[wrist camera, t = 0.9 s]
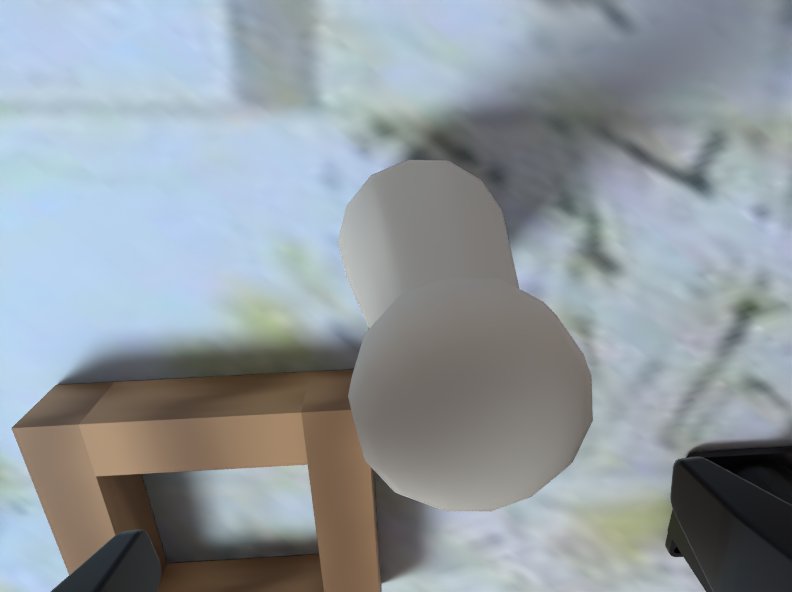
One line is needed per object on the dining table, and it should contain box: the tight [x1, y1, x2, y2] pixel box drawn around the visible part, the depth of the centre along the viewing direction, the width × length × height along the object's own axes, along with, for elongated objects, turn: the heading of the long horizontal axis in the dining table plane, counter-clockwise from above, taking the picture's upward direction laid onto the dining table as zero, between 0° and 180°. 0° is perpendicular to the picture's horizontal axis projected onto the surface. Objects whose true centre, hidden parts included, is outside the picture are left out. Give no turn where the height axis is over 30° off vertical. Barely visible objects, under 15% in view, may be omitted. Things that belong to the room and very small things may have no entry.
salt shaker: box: [338, 160, 593, 511], centre depth 14 cm, size 6×6×13 cm
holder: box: [12, 369, 382, 592], centre depth 24 cm, size 13×13×3 cm
